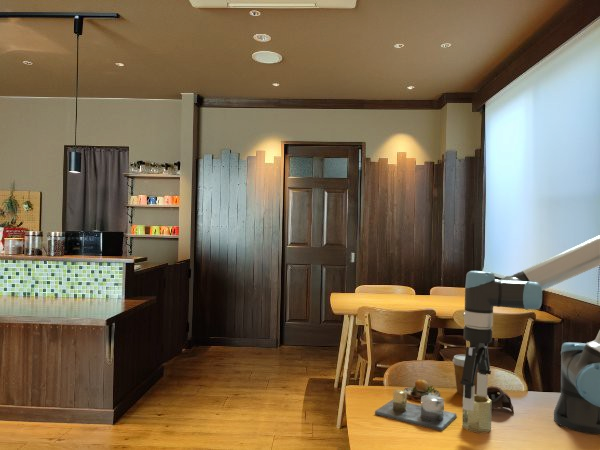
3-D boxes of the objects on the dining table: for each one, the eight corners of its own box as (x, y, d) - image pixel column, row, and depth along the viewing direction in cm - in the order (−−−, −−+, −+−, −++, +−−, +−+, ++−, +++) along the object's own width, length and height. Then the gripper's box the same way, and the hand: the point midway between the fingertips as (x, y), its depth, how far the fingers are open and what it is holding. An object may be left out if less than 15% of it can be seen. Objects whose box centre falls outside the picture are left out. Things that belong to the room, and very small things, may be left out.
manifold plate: (456, 417, 143) (456, 396, 143) (441, 431, 132) (442, 409, 133) (393, 402, 154) (393, 383, 155) (375, 414, 144) (375, 393, 144)
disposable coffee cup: (484, 392, 167) (484, 357, 167) (478, 399, 159) (478, 362, 159) (456, 387, 172) (456, 352, 172) (448, 394, 164) (449, 358, 164)
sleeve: (492, 426, 136) (493, 398, 136) (486, 435, 131) (487, 405, 131) (467, 420, 140) (467, 393, 140) (460, 428, 134) (460, 399, 135)
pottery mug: (521, 419, 144) (510, 396, 143) (490, 430, 146) (479, 408, 144) (507, 395, 156) (497, 374, 154) (478, 406, 157) (469, 385, 156)
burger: (445, 396, 163) (445, 373, 163) (433, 406, 153) (433, 382, 153) (410, 389, 169) (411, 367, 169) (397, 398, 160) (397, 375, 160)
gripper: (476, 319, 148) (473, 389, 148) (450, 331, 128) (447, 412, 128) (502, 322, 144) (499, 394, 144) (480, 335, 124) (476, 419, 123)
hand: (475, 403), depth 136 cm, fingers open, 13 cm apart
